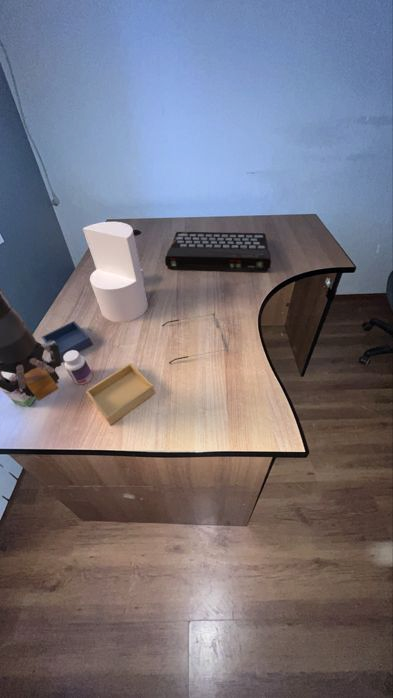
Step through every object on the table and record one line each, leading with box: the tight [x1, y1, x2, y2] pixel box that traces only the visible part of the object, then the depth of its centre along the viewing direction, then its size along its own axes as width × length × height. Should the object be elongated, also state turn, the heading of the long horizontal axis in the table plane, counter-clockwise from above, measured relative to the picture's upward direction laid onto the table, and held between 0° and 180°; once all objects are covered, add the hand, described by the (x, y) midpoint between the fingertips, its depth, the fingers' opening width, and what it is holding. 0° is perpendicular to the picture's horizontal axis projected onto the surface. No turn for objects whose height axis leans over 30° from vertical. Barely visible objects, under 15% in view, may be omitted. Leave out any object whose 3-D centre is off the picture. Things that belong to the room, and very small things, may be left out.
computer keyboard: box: [164, 231, 272, 273], centre depth 123 cm, size 45×28×7 cm, turn 84°
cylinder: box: [82, 221, 149, 323], centre depth 90 cm, size 17×17×28 cm
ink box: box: [0, 371, 37, 408], centre depth 70 cm, size 8×5×12 cm, turn 164°
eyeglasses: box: [161, 312, 229, 364], centre depth 86 cm, size 18×19×4 cm
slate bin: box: [41, 320, 94, 363], centre depth 86 cm, size 11×11×4 cm
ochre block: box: [24, 367, 60, 401], centre depth 59 cm, size 5×5×5 cm
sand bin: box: [85, 362, 156, 426], centre depth 72 cm, size 14×11×4 cm
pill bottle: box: [63, 350, 93, 385], centre depth 74 cm, size 5×5×10 cm
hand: (44, 387), depth 60 cm, fingers closed on ochre block, 4 cm apart
